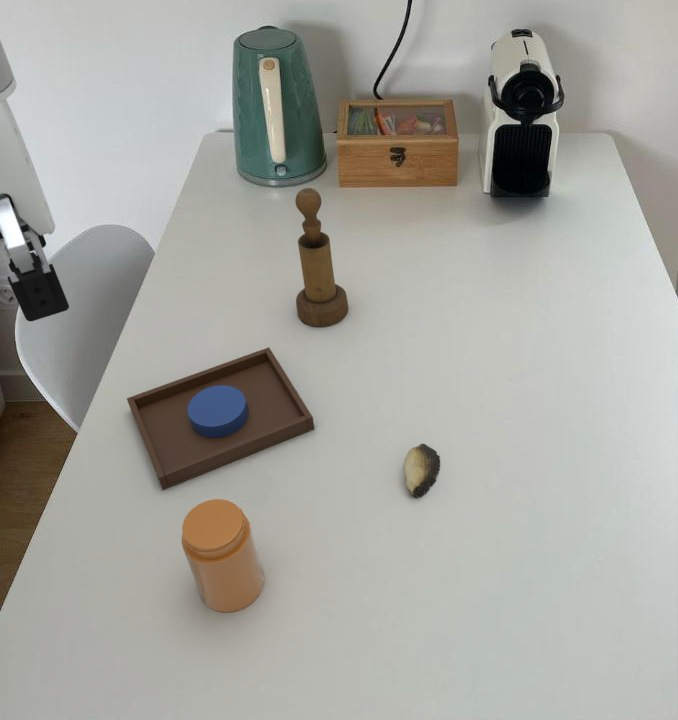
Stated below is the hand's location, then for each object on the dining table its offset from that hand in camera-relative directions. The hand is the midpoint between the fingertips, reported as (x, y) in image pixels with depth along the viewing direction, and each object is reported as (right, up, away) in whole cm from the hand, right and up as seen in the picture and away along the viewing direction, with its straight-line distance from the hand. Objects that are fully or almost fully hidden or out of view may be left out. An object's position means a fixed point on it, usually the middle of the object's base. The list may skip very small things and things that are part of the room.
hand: (37, 280), depth 65 cm
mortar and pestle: (+19, 0, +41) cm, 45 cm away
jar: (+13, -28, +11) cm, 33 cm away
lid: (+9, -12, +26) cm, 29 cm away
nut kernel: (+31, -18, +21) cm, 42 cm away
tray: (+9, -13, +27) cm, 31 cm away
